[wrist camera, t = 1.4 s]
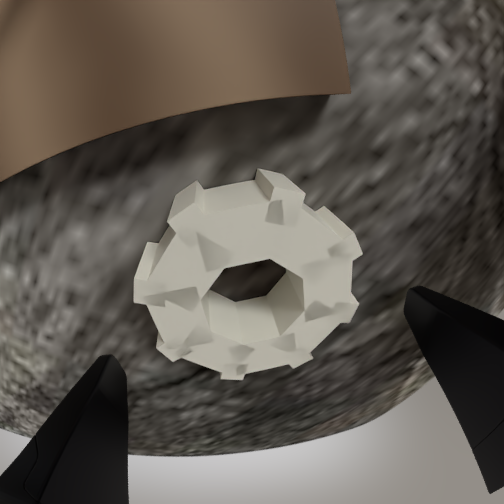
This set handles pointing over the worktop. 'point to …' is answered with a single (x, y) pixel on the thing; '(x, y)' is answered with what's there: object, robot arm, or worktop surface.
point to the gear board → (151, 64)
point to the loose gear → (238, 253)
